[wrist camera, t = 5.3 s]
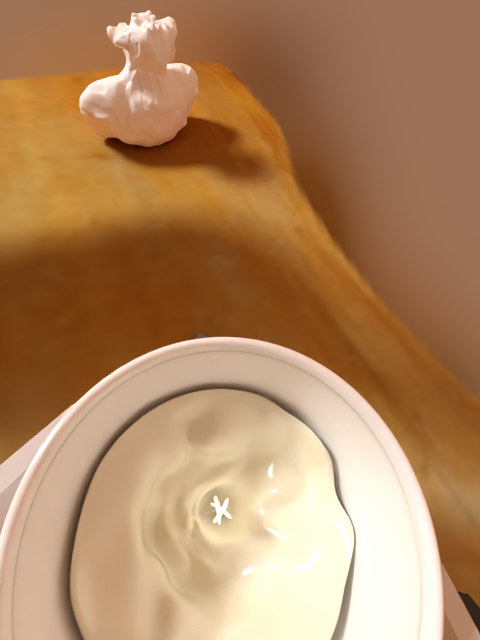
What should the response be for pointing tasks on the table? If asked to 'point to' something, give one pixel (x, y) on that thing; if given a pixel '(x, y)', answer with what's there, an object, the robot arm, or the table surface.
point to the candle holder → (220, 509)
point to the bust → (142, 86)
